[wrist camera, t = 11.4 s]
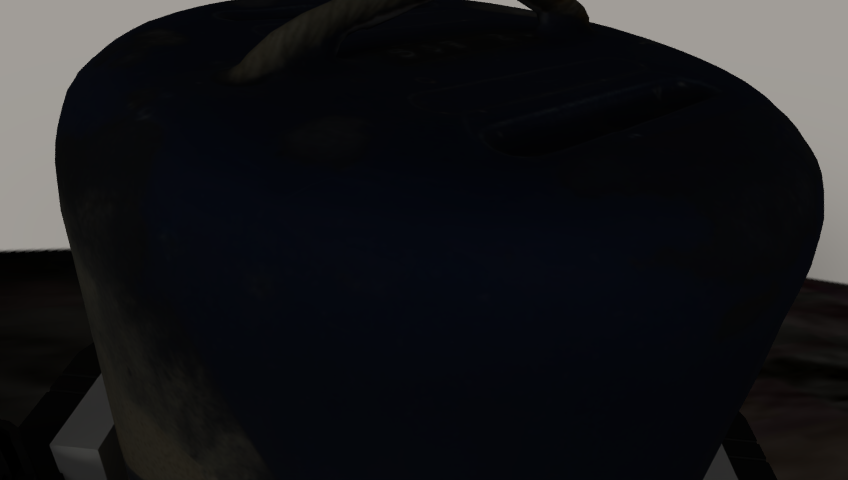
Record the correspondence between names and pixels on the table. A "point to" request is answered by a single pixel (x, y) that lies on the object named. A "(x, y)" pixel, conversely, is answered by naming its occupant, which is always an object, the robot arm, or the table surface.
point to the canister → (426, 242)
